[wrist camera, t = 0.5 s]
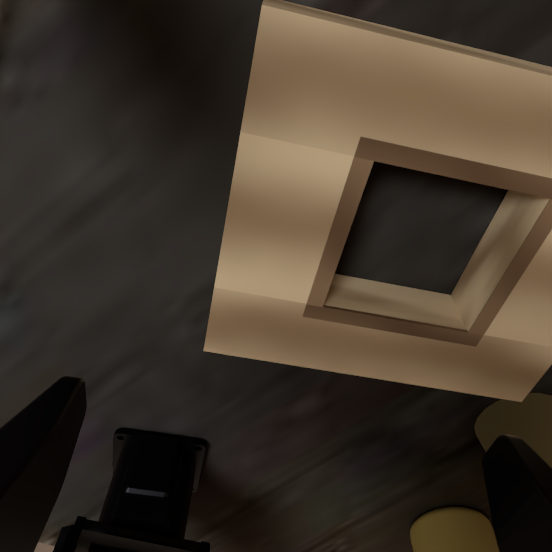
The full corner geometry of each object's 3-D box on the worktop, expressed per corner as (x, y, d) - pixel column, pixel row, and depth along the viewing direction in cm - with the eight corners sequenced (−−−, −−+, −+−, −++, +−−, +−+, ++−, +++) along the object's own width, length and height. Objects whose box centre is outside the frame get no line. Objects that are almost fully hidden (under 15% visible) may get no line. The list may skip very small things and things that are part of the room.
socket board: (501, 362, 29) (521, 402, 26) (211, 313, 27) (203, 351, 24) (687, 100, 19) (745, 123, 17) (265, -4, 17) (262, 4, 15)
